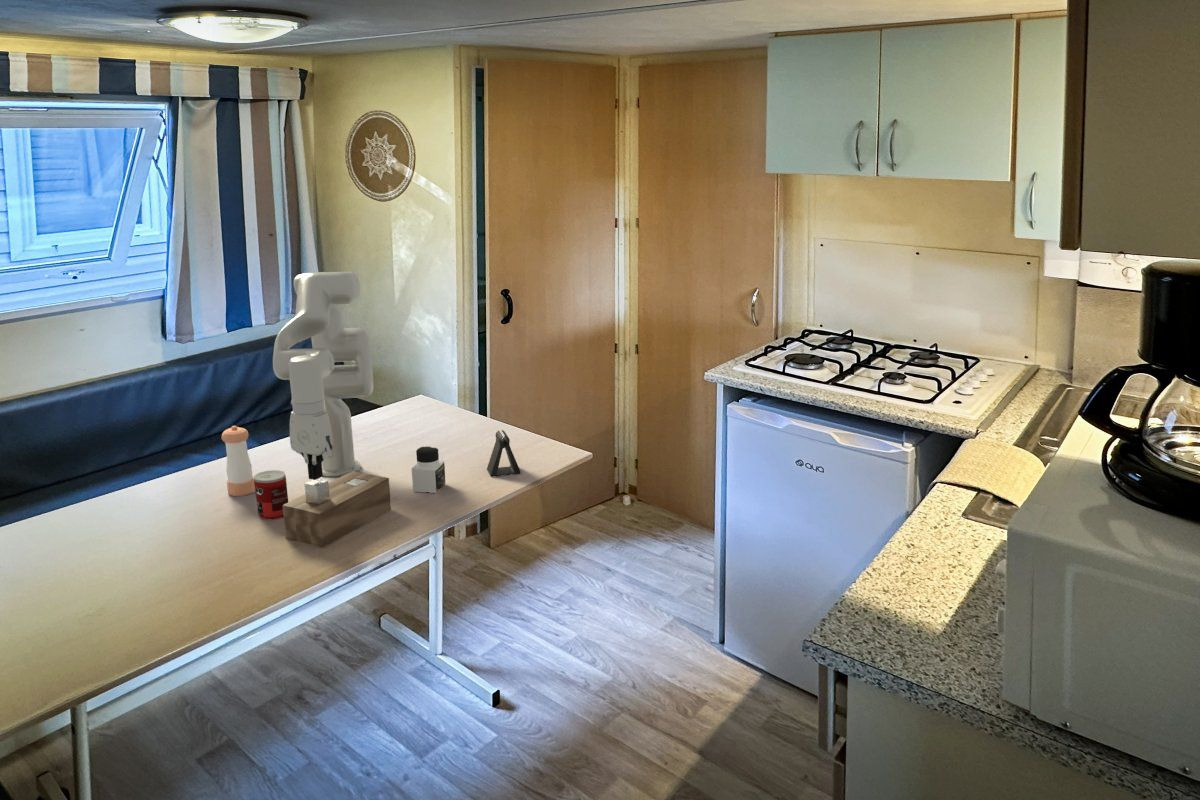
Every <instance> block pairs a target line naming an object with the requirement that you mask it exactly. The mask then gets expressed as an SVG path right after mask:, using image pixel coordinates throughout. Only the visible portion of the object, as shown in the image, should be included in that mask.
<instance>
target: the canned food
mask: <svg viewBox="0 0 1200 800" xmlns="http://www.w3.org/2000/svg"><path fill="white" fill-rule="evenodd" d="M253 477H254V485H255V491H254V492H255V493H254V494H255V500H256V509H257V515H258V517H259V518H261V519H262V520H263V519H264V520H270V521H271V520H277V519H281V518H284V515H283V506H282V505H284V504H286V503H288V502H289V496H288V484H287V477H286V473H285V471H281V470H273V469H271V470H265V471H261V472H258V473H256V474H255V475H253Z"/></svg>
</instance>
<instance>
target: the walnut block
mask: <svg viewBox="0 0 1200 800" xmlns="http://www.w3.org/2000/svg"><path fill="white" fill-rule="evenodd" d="M355 478H356V479H360V480H365V481H367V482H365V483H363V484H361V485H359V486H352V485H348V484H345V483H347V482H349V481H351V480H353V479H355ZM389 479H390V477H387V476H386V477H385V476H379V475H376V474H370V473H365V472H359V471H352V472H350V473H348V474H346V475H344V476H339V477H338V478H335V479H333V480H331V481H328V484H329V495H330V500H329V501H327V502H325V503H323V504H321V505H319V506H318V505H314V504H309V503H306V494H305V493H304V494H302V495H300V496H299V497H297V498H294V499H292V500H290V501H288V503H286V504H284V505H282V506H283V515H284V517H283V523H284V532H285V539H286V540H290V541H295V542H297V543H298V542H299V543H303V544H306V545H310V546H314V547H317V548H318V547H319V548H322V549H324V548H326V547H328V546H329V545H331V544H333V543H334V542H336V541H338V540H339V539H342V538H343V537H345V536H347V535H350V533H352V532H354V531H356V530H358V529H359V528H362V526H363V527H364V525H366V524H368V523H369V522H371V521H373V520H375V519H377V518H379V517H381V516H382V515H385V514H386V513H388V512H389V510H390V511H391V510H392V506H391V505H392V504H391V503H392V502H391V491H390V480H389ZM387 511H388V512H387ZM385 512H386V513H385Z"/></svg>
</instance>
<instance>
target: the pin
mask: <svg viewBox="0 0 1200 800" xmlns="http://www.w3.org/2000/svg"><path fill="white" fill-rule="evenodd" d="M328 483H329V480H327V479H321V478H318V479H316V480H312V479H310V480H308V481H307V482H305V483H304V491H305V493H304V494H306V503H309V504H314V505H318V506H319V505H321V504H323V503H325V502H327V501H329V500H330V495H329V484H328Z"/></svg>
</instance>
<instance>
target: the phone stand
mask: <svg viewBox="0 0 1200 800" xmlns="http://www.w3.org/2000/svg"><path fill="white" fill-rule="evenodd" d="M501 432H502V433H501ZM502 434H503V435H504V436H503V435H502ZM510 441H511V440H510V438H509V436H508V435H507V433H506V431H505V430H503V429H501V431H500V430H499V429H498V430H497V431H496V433H495V443H494V446H493V448H492V451H491V455H490V457H489V460H488V461H489V462H488V464H487V467H486V470H487V472H488V474H489V477H491V478H494V477H493V476H496V477H502V476H501V475H505V476H511V475H510V474H514V475H520V474H522V473H521V472H522V471H521V469H520V467H519V465H518V462H517V460H516V458H515V455H514V453H513V450H512V448H511V445H510ZM503 449H505V453H506V456H507V459H508V461H509V462H508V463H509V466H501V467H499V465H500V463H501V462H500V461H501V457H502V453H503Z"/></svg>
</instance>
